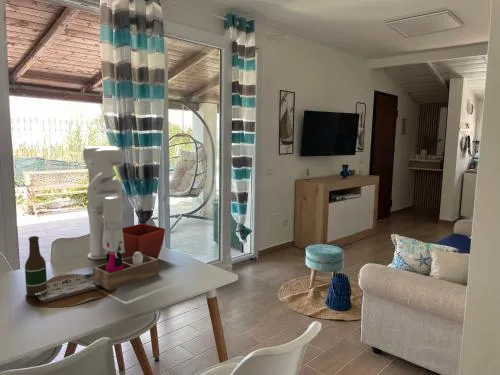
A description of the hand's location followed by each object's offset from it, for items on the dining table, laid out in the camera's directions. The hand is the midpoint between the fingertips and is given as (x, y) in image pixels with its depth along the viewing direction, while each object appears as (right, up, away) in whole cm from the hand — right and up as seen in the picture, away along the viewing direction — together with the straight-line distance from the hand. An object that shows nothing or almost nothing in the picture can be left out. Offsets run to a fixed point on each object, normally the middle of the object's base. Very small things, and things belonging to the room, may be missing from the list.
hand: (114, 264), depth 164 cm
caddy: (+4, -9, +6) cm, 11 cm away
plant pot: (+2, -5, +32) cm, 33 cm away
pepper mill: (0, -7, +1) cm, 7 cm away
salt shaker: (+7, -7, +10) cm, 15 cm away
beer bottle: (-29, -10, -9) cm, 32 cm away
